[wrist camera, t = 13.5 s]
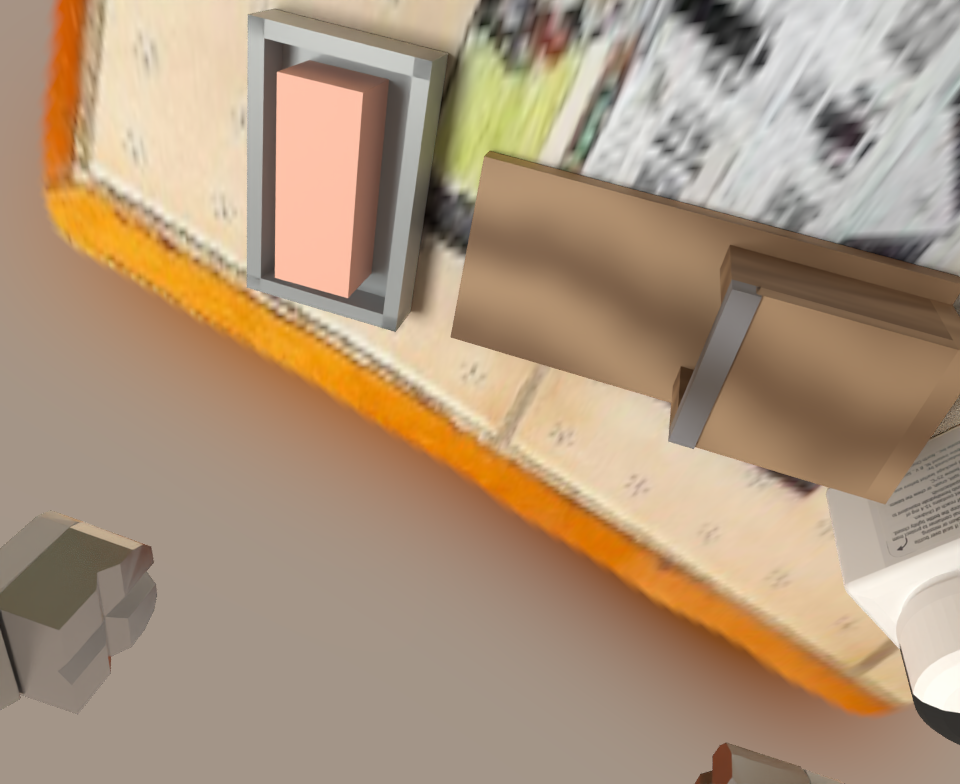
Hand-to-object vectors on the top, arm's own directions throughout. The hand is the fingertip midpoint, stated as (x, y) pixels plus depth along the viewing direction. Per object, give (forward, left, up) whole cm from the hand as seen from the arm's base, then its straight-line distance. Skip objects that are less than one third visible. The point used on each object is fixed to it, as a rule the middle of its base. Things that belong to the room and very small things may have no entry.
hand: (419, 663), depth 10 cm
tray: (+5, -13, -29) cm, 32 cm away
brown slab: (+7, +5, -29) cm, 30 cm away
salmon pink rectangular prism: (+5, -13, -28) cm, 32 cm away
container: (+14, +21, -29) cm, 39 cm away
